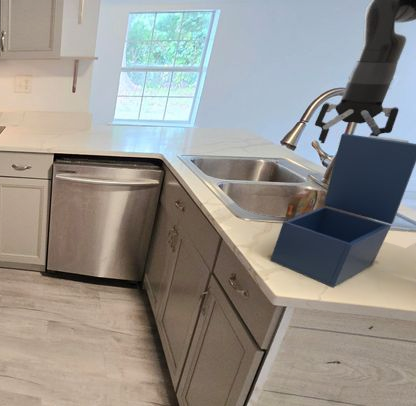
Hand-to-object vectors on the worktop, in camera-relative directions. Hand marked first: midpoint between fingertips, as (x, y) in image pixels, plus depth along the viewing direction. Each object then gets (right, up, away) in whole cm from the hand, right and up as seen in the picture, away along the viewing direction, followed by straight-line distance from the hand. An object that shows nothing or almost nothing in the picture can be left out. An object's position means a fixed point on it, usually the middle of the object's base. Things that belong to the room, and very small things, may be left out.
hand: (344, 145), depth 96 cm
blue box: (-13, -30, -7) cm, 33 cm away
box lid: (-8, -10, -13) cm, 18 cm away
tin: (+1, -20, +16) cm, 25 cm away
